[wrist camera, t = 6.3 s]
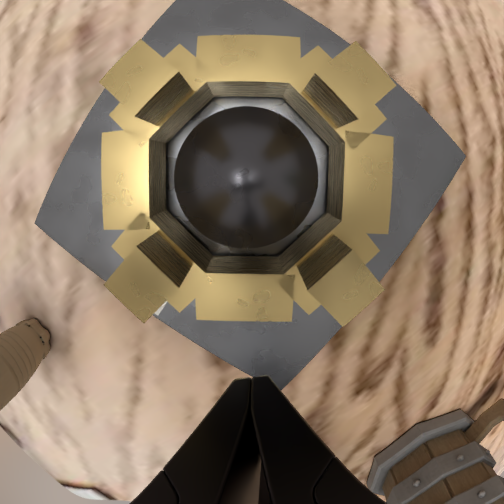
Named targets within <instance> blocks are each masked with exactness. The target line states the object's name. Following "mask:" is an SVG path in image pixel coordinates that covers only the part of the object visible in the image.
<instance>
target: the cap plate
mask: <svg viewBox="0 0 504 504" xmlns="http://www.w3.org/2000/svg"><path fill="white" fill-rule="evenodd" d="M208 35H274V36H290V37H300V49H301V58H302V57H303V56H305V55H306V54H307V53H309V52H310V51H311V50H312V49H314V48H315V47H316V46H320V47H321V48H322V49H323V50H324V51H325V52H326V53H327V54H328V55H329V56H330V57H331V58H332V59H333V58H334V57H336V56H337V55H338V54H339V53H341V52H342V51H343V50H345V49H346V48H347V47H349V46H350V44H349V43H348V42H346V41H345V40H343V39H342V38H341V37H339V36H338V35H337V34H335V33H334V32H332V31H331V30H329V29H328V28H326V27H325V26H323V25H322V24H320V23H319V22H317V21H316V20H314V19H313V18H311V17H310V16H308V15H307V14H305V13H303V12H302V11H300V10H298V9H297V8H295V7H293V6H292V5H290V4H288V3H287V2H285V1H283V0H176V1H175V2H174V3H173V4H172V5H171V6H170V7H169V8H168V9H167V10H166V11H165V12H164V14H163V15H162V16H161V17H160V18H159V19H158V20H157V21H156V22H155V24H154V25H153V26H152V27H151V28H150V29H149V31H148V32H147V33H146V34H145V35H144V37H143V38H142V39H141V40H143V41H144V42H145V43H146V44H147V45H149V46H150V47H151V48H152V49H153V50H155V51H156V52H157V53H158V54H159V55H161V56H162V57H163V58H164V57H165V56H166V55H167V54H168V53H170V52H171V51H172V50H173V49H174V48H175V47H176V46H177V45H178V44H181V45H182V46H183V47H184V48H186V49H187V50H188V51H189V52H190V53H191V54H193V55H194V56H195V57H196V52H197V37H198V36H208ZM389 77H390V76H389ZM390 78H391V77H390ZM391 79H392V78H391ZM392 80H393V79H392ZM393 82H394V83H395V84H396V86H395V87H394V88H393V89H392V90H391V91H390V92H388V93H387V94H386V95H385V96H384V97H383V98H382V99H381V100H379V101H378V102H377V103H376V104H375V105H376V106H377V107H378V109H379V110H380V111H381V112H382V113H383V115H384V116H385V117H386V118H387V119H386V120H385V121H384V122H383V123H382V124H381V125H380V126H379V127H378V128H377V129H376V130H374V131H373V132H372V133H371V134H378V135H386V136H392V137H394V138H393V176H392V195H391V209H390V221H389V231H388V234H368V233H366V234H367V235H368V236H369V237H370V239H371V240H372V241H373V242H374V244H375V245H376V246H377V247H378V249H379V250H380V251H379V252H378V253H377V254H376V255H375V256H374V257H373V258H372V259H371V260H370V261H369V262H368V263H367V264H366V267H367V268H368V269H369V270H370V271H371V273H372V274H373V275H374V276H375V278H376V279H377V280H378V281H379V282H380V280H381V279H382V278H383V277H384V275H385V274H386V273H387V272H388V270H389V269H390V268H391V266H392V265H393V264H394V262H395V261H396V260H397V259H398V257H399V256H400V255H401V253H402V252H403V251H404V249H405V248H406V246H407V245H408V244H409V242H410V241H411V240H412V238H413V237H414V235H415V234H416V233H417V231H418V230H419V228H420V227H421V226H422V224H423V223H424V221H425V220H426V218H427V217H428V215H429V214H430V212H431V211H432V210H433V208H434V207H435V205H436V204H437V202H438V201H439V199H440V197H441V196H442V194H443V193H444V191H445V190H446V188H447V187H448V185H449V183H450V182H451V180H452V179H453V177H454V175H455V174H456V172H457V170H458V169H459V167H460V165H461V164H462V162H463V160H464V159H465V157H466V155H465V154H464V153H463V152H462V151H461V149H460V148H459V147H458V146H457V145H456V143H455V142H454V141H453V140H452V139H451V138H450V136H449V135H448V134H447V133H446V132H445V131H444V130H443V129H442V128H441V126H440V125H439V124H438V123H437V122H436V121H435V120H434V119H433V118H432V117H431V116H430V115H429V114H428V113H427V112H426V111H425V110H424V109H423V108H422V107H421V105H419V104H418V103H417V102H416V101H415V100H414V99H413V98H412V97H411V96H410V95H409V94H408V93H407V92H406V91H405V90H404V89H403V88H402V87H401V86H400V85H399V84H397V83H396V82H395V81H394V80H393ZM119 103H120V102H119V101H118V100H117V99H116V98H115V97H114V96H113V95H112V94H111V93H110V92H109V91H108V90H107V89H106V88H105V89H104V90H103V92H102V93H101V95H100V97H99V98H98V100H97V101H96V103H95V104H94V106H93V107H92V109H91V111H90V112H89V114H88V116H87V117H86V119H85V121H84V122H83V124H82V126H81V127H80V129H79V131H78V133H77V134H76V136H75V138H74V140H73V142H72V143H71V145H70V147H69V149H68V151H67V153H66V155H65V157H64V159H63V161H62V163H61V165H60V167H59V169H58V171H57V173H56V175H55V177H54V179H53V181H52V183H51V185H50V188H49V190H48V192H47V194H46V197H45V199H44V201H43V204H42V206H41V208H40V211H39V213H38V216H37V218H36V221H35V224H36V225H37V226H38V227H39V228H40V229H42V230H43V231H44V232H45V233H46V234H47V235H48V236H50V237H51V238H52V239H53V240H54V241H55V242H57V243H58V244H59V245H60V246H61V247H63V248H64V249H65V250H66V251H67V252H69V253H70V254H71V255H72V256H74V257H75V258H76V259H77V260H79V261H80V262H81V263H82V264H84V265H85V266H86V267H87V268H89V269H90V270H91V271H93V272H94V273H95V274H96V275H98V276H99V277H100V278H102V279H103V280H104V281H107V280H108V279H109V278H110V276H111V275H112V274H113V273H114V272H115V270H116V269H117V268H118V267H119V266H120V264H121V263H122V262H123V261H124V259H123V258H122V257H121V256H120V255H119V254H118V253H117V252H116V251H115V250H114V249H113V248H112V247H111V246H112V245H113V244H114V242H115V241H116V240H117V239H118V238H119V236H120V235H121V234H122V233H123V232H124V230H104V226H103V209H102V180H101V144H102V133H103V132H112V131H120V130H123V129H122V128H121V127H120V126H119V125H118V124H117V123H116V122H115V121H114V120H113V119H112V118H111V117H110V116H109V114H110V113H111V112H112V111H113V110H114V109H115V107H116V106H117V105H118V104H119ZM328 160H329V146H328V145H327V144H326V143H325V142H324V140H323V139H322V138H321V137H320V136H319V135H318V134H317V133H316V132H315V131H314V130H313V129H312V127H311V126H310V125H309V124H308V123H307V122H306V121H305V120H304V119H303V118H302V117H301V116H300V115H299V114H298V113H297V112H296V111H295V110H294V109H293V108H292V107H291V106H290V105H289V104H288V103H287V102H286V101H285V100H284V99H283V98H279V97H244V96H229V97H213V98H212V99H211V100H210V101H209V102H208V103H207V104H206V105H205V106H204V107H203V108H202V109H201V110H200V111H198V112H197V113H196V114H195V115H194V116H193V117H192V118H191V119H190V120H189V121H188V122H187V123H186V124H185V125H184V126H183V127H182V128H181V129H180V130H179V131H178V132H177V133H176V134H175V135H174V136H173V137H172V138H171V139H170V140H169V142H168V143H167V144H166V210H167V211H168V212H169V213H170V214H171V215H172V216H173V217H174V218H175V219H176V220H177V221H178V222H179V223H180V224H181V225H182V226H183V227H184V228H185V229H186V230H187V231H188V232H189V233H190V234H191V235H192V236H193V237H194V238H195V239H196V240H197V241H198V242H199V243H200V244H201V245H202V246H203V247H204V248H206V249H207V250H208V251H209V252H210V253H211V254H212V255H213V256H265V257H278V256H280V255H281V254H282V253H283V252H284V251H285V250H286V249H287V248H288V247H289V246H290V245H291V244H293V243H294V242H295V241H296V240H297V239H298V238H299V237H300V236H301V235H302V234H303V233H304V232H306V231H307V230H308V229H309V228H310V227H311V226H312V225H313V224H314V223H315V222H316V221H317V220H318V219H320V218H321V217H322V216H323V215H324V214H325V213H326V209H327V189H328ZM153 316H155V317H156V318H158V319H159V320H161V321H162V322H164V323H165V324H167V325H168V326H170V327H171V328H173V329H174V330H176V331H177V332H179V333H180V334H182V335H183V336H185V337H187V338H188V339H190V340H191V341H193V342H195V343H196V344H198V345H199V346H201V347H203V348H204V349H206V350H207V351H209V352H211V353H212V354H214V355H216V356H217V357H219V358H221V359H222V360H224V361H226V362H228V363H229V364H231V365H233V366H234V367H236V368H238V369H240V370H241V371H243V372H245V373H247V374H249V375H250V376H252V377H257V376H264V375H268V376H269V377H270V378H271V379H272V380H273V382H274V383H275V384H276V385H277V387H278V388H279V389H280V390H282V389H283V388H284V387H285V386H286V385H287V384H288V383H289V382H290V381H291V380H292V379H293V378H294V377H295V376H296V375H297V374H298V373H299V372H300V371H301V370H302V369H303V368H304V367H305V366H306V365H307V364H308V363H309V362H310V361H311V360H312V359H313V358H314V356H315V355H316V354H317V353H318V352H319V351H320V350H321V349H322V348H323V347H324V346H325V345H326V344H327V342H328V341H329V340H330V339H331V338H332V337H333V336H334V335H335V334H336V333H337V331H338V330H339V329H340V328H341V327H342V326H341V325H340V324H339V323H338V321H337V320H336V319H335V318H334V317H333V316H332V315H331V314H330V313H329V312H328V311H327V310H326V309H325V308H324V307H323V306H322V305H320V306H319V307H318V308H317V309H316V310H314V311H313V312H312V313H311V314H310V315H308V314H307V313H306V312H305V311H304V310H303V309H302V308H301V307H300V306H299V305H298V304H297V303H296V302H295V301H294V300H293V312H292V322H260V321H213V320H196V303H195V299H194V300H193V301H192V302H191V303H190V304H189V305H187V306H186V307H185V308H184V309H183V310H182V311H181V312H180V313H179V312H178V311H177V310H176V309H175V308H174V307H173V306H172V305H170V304H169V303H168V302H167V301H166V302H165V303H164V304H163V305H162V306H161V307H160V308H159V309H158V310H157V311H156V312H155V313H154V314H153Z"/></svg>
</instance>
